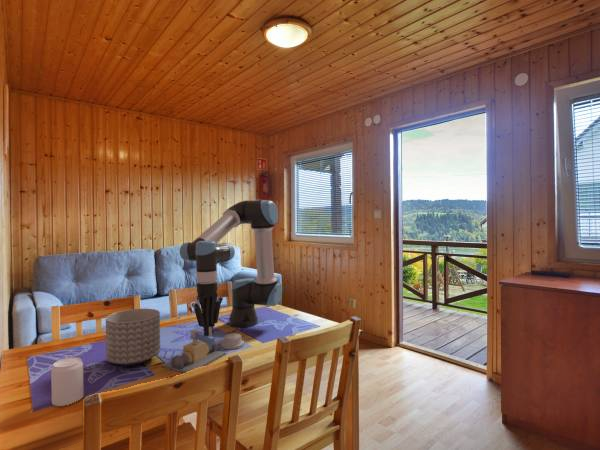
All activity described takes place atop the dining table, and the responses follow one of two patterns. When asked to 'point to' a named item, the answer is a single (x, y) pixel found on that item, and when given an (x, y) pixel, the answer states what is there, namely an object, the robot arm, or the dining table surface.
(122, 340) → the planter
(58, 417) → the dining table surface
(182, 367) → the valve assembly
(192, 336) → the lever
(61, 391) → the beverage can
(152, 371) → the dining table surface
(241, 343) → the mechanical component
